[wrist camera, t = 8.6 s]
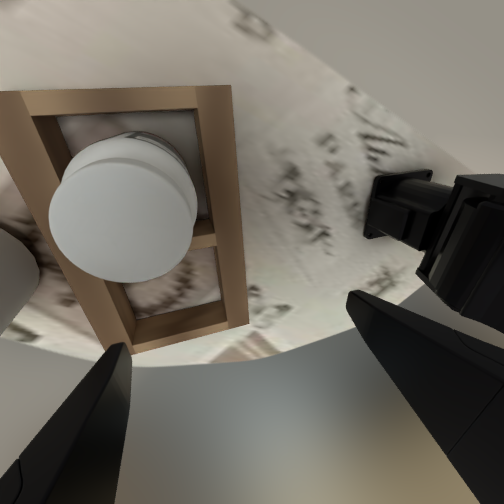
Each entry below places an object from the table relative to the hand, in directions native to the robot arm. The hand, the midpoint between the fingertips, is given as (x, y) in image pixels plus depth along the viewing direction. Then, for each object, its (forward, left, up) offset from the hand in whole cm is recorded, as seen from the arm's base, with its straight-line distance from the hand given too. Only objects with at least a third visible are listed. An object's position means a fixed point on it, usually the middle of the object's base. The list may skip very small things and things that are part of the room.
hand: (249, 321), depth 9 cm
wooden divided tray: (+4, +1, -12) cm, 13 cm away
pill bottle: (+4, -4, -12) cm, 13 cm away
